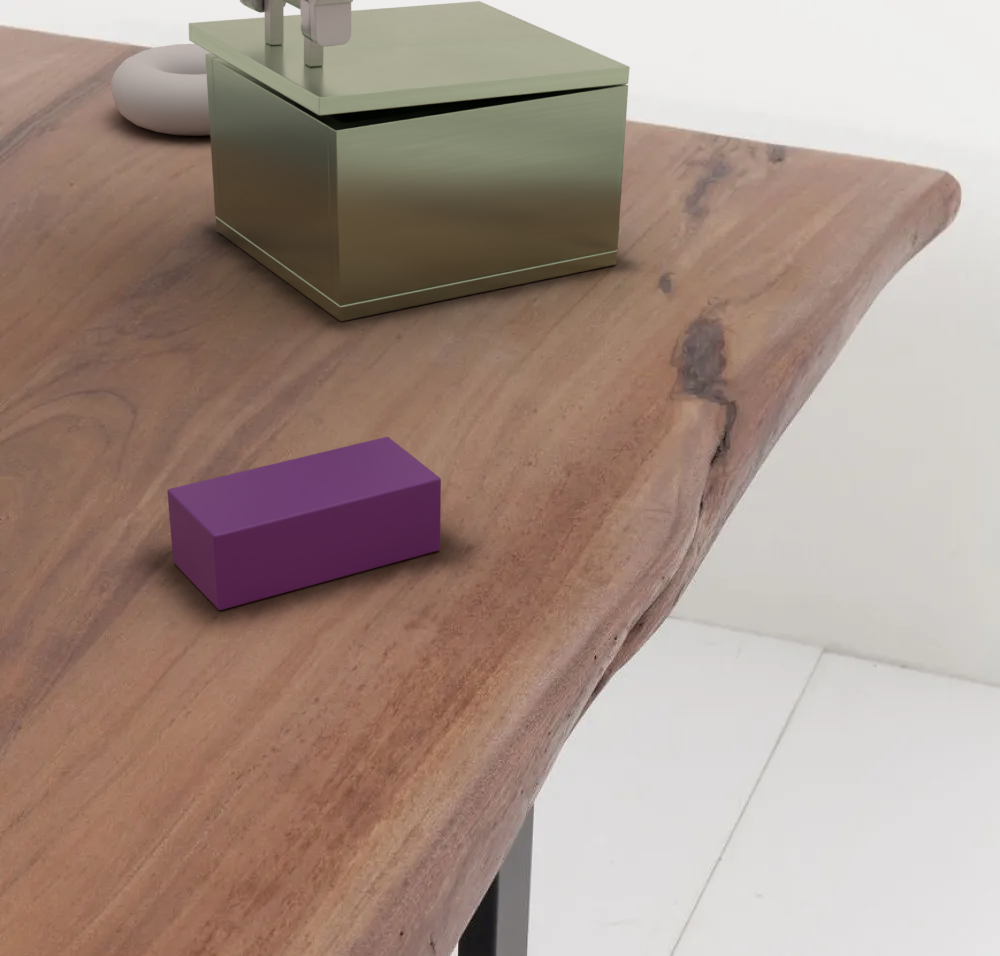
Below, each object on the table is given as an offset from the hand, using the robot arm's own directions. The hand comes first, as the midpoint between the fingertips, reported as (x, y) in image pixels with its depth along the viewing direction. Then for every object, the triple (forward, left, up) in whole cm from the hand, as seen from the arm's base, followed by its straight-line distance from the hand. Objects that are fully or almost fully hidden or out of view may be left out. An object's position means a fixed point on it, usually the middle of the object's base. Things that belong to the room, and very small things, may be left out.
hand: (294, 25), depth 86 cm
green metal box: (+5, +4, -12) cm, 13 cm away
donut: (-12, +22, -12) cm, 28 cm away
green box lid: (+4, +4, -2) cm, 6 cm away
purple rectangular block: (+8, -28, -12) cm, 31 cm away
